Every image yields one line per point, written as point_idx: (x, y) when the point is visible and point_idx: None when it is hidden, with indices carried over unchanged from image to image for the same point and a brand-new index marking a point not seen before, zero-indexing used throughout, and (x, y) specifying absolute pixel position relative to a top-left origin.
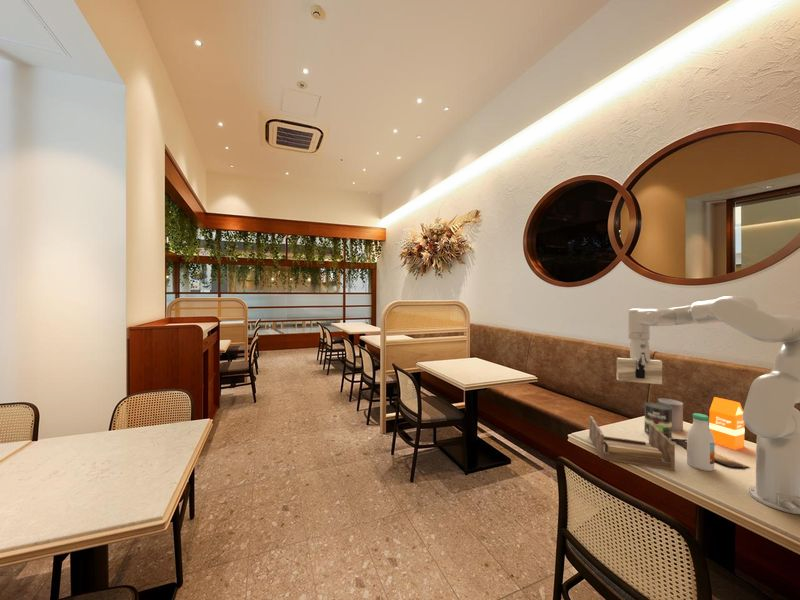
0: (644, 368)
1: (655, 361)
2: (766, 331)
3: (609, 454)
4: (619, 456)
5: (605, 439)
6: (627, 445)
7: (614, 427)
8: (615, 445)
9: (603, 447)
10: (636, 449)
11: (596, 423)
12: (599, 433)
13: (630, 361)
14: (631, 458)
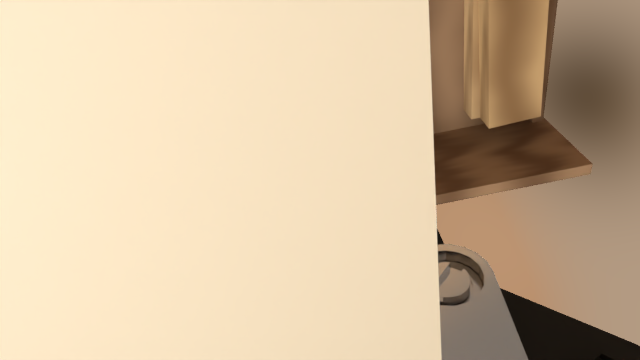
0: (495, 280)
1: (395, 140)
2: None
3: (544, 99)
4: (547, 63)
5: None
6: (504, 41)
7: None
8: (522, 90)
9: (559, 133)
10: (543, 3)
11: (438, 195)
12: (561, 176)
13: None
14: (552, 17)
